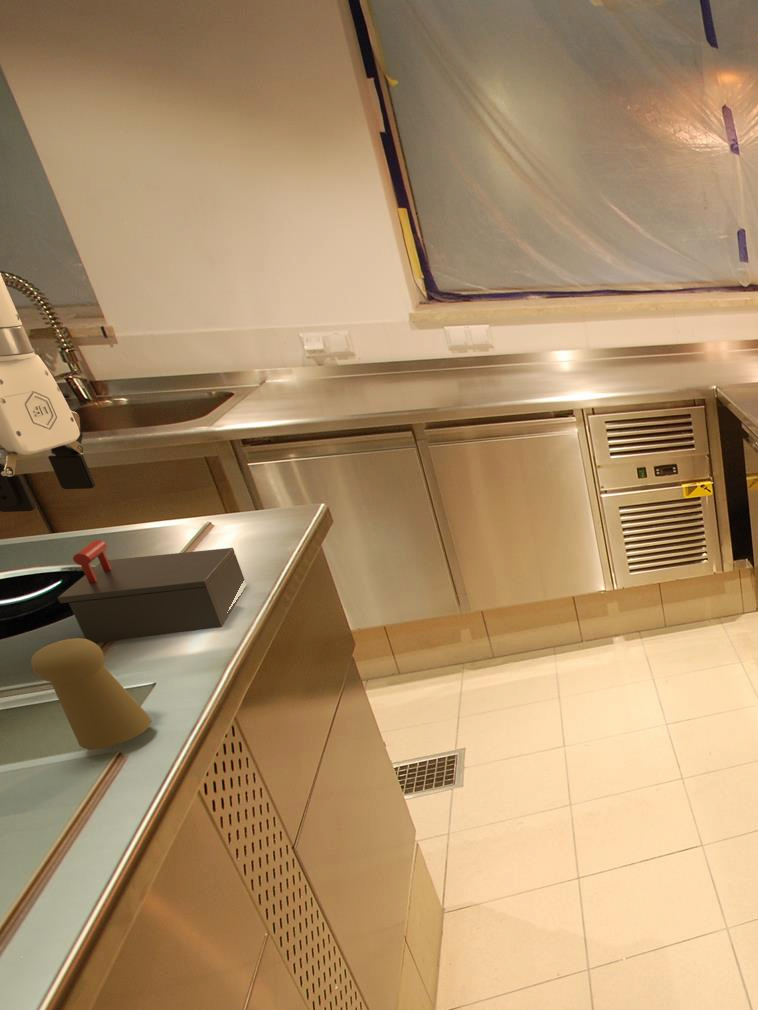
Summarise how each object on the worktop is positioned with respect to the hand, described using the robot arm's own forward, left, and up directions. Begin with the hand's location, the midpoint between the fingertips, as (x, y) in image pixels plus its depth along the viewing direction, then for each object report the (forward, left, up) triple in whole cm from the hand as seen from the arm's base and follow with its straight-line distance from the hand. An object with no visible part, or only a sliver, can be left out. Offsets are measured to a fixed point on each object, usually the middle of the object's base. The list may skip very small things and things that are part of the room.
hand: (50, 499), depth 98 cm
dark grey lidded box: (+3, +11, -21) cm, 24 cm away
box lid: (+2, +11, -14) cm, 18 cm away
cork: (+6, -23, -21) cm, 31 cm away
